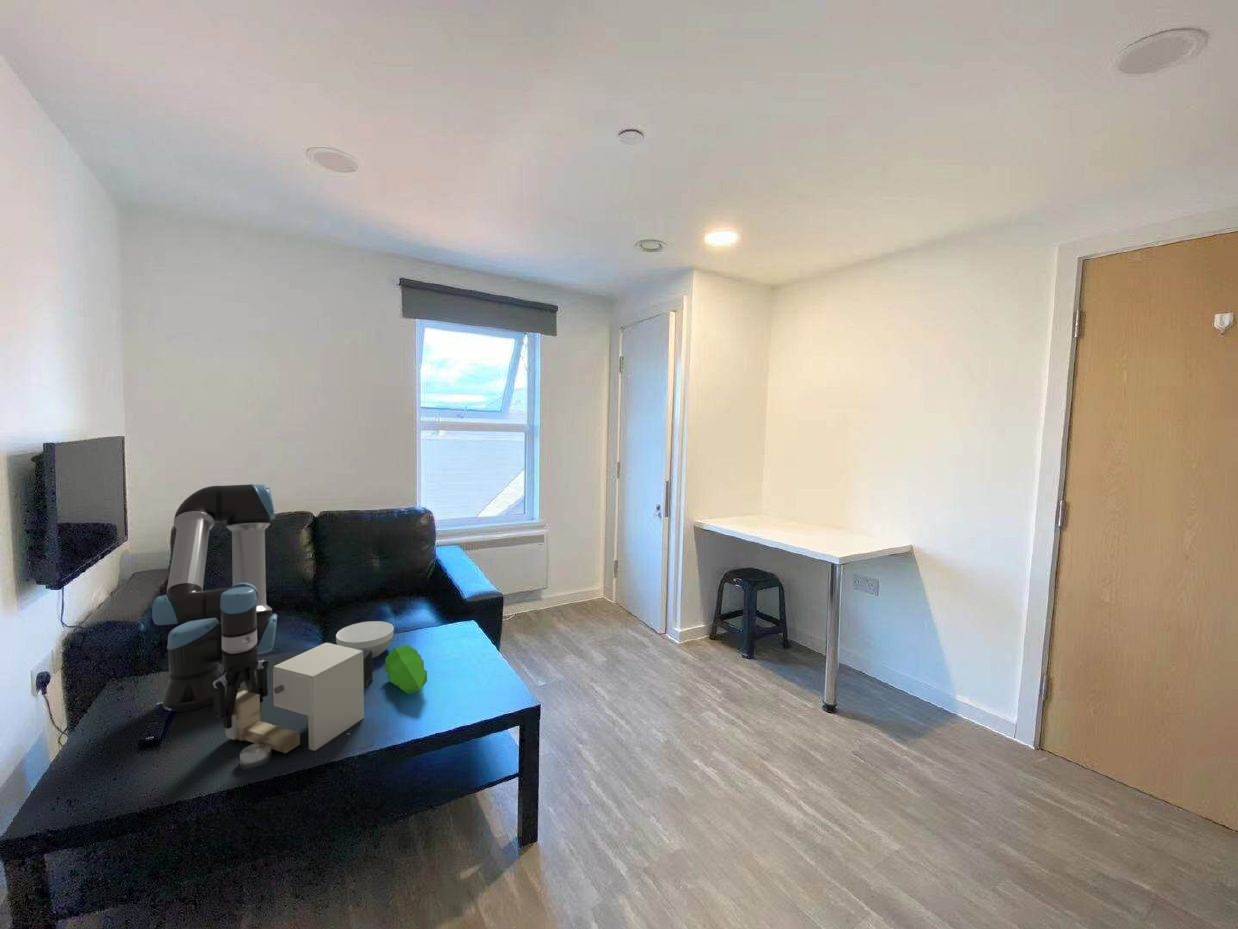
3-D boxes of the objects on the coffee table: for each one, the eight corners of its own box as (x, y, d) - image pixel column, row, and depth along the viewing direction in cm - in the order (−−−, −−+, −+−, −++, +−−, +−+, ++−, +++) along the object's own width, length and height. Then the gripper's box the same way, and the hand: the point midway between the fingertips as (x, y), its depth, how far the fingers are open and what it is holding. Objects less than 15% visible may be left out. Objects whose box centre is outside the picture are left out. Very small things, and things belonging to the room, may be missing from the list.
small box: (373, 679, 170) (373, 649, 169) (364, 690, 163) (364, 658, 163) (341, 679, 170) (340, 648, 169) (330, 689, 163) (330, 657, 162)
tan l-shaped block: (225, 735, 136) (224, 699, 135) (244, 725, 141) (243, 690, 140) (283, 754, 129) (282, 716, 129) (301, 743, 134) (300, 706, 133)
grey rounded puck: (237, 772, 125) (236, 761, 124) (243, 756, 131) (243, 745, 130) (268, 766, 127) (268, 754, 127) (273, 750, 133) (273, 739, 133)
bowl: (385, 639, 201) (385, 617, 200) (400, 657, 186) (400, 633, 186) (331, 651, 189) (330, 628, 188) (342, 672, 174) (342, 647, 174)
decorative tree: (406, 632, 179) (430, 663, 154) (420, 658, 182) (445, 693, 157) (373, 651, 173) (392, 686, 149) (388, 678, 176) (409, 718, 152)
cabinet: (268, 742, 136) (266, 669, 134) (327, 707, 153) (326, 642, 151) (307, 755, 131) (305, 680, 130) (364, 718, 148) (363, 650, 147)
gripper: (212, 665, 126) (216, 755, 128) (282, 636, 143) (285, 717, 145) (192, 659, 128) (196, 748, 130) (263, 632, 145) (265, 711, 147)
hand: (242, 731), depth 138 cm, fingers closed on tan l-shaped block, 5 cm apart
